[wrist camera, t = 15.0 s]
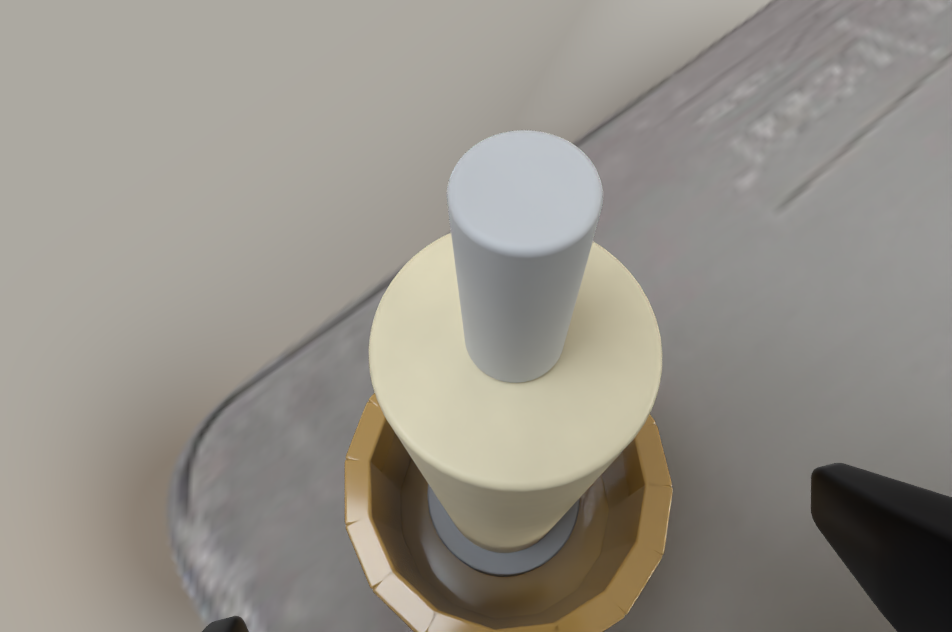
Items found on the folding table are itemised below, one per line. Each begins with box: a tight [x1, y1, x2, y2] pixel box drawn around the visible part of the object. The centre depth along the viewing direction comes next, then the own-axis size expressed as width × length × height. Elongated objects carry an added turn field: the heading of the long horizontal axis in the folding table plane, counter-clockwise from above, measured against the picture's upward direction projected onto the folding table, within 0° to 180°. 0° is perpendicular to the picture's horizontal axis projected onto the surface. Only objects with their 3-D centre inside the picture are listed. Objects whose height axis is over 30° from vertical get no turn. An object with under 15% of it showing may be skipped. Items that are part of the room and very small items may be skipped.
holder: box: [345, 393, 673, 632], centre depth 15 cm, size 7×7×5 cm
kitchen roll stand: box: [369, 130, 662, 577], centre depth 10 cm, size 4×4×14 cm
